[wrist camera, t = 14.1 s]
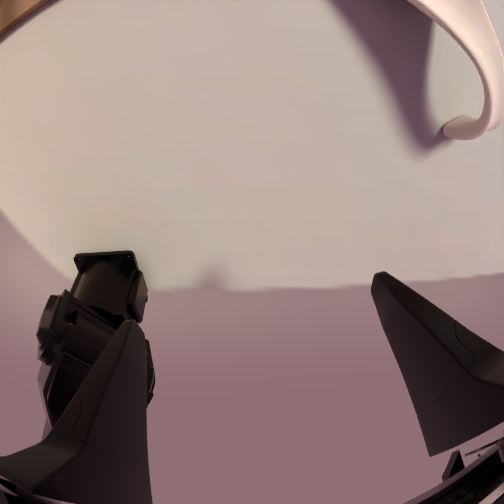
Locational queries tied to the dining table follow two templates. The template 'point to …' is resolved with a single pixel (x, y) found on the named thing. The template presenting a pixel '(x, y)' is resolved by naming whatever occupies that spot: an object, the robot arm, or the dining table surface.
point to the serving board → (16, 12)
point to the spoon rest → (481, 53)
